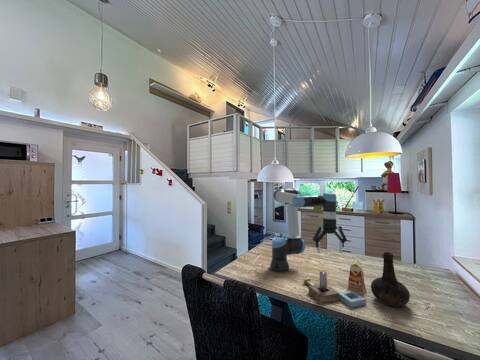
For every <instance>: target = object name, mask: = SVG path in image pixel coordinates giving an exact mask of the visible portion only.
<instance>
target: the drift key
mask: <svg viewBox="0 0 480 360" xmlns="http://www.w3.org/2000/svg"><path fill="white" fill-rule="evenodd" d="M303 284H304V285H307V286H308V287H309V286H312V285H316V284H315V283H314V282H312V278H310V277H305V278H303Z"/></svg>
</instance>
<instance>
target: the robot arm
mask: <svg viewBox="0 0 480 360" xmlns="http://www.w3.org/2000/svg"><path fill="white" fill-rule="evenodd" d="M272 196H273V199H274V200H275V201H276V202H278V203H284V205H285V207H286V214H287V217H286V218H287V231H288V232H287V233H288V235H287V236H286V238H285V237H278V238H277V237H276V238H274V239H273V240H272V242H271V255H272V256H271V261H270V265H269V269H270V270H271V271H273V272H276V273H287V272H289V270H290V266H289V265H290V264H289V262H288V256H291V255H301V254H303V253H304V251H305V250H306V243H305V240H304V239H303V238H302V236H301V235H300V227H299V226H300V225H299V214H298V212H299V211H298V208H299V209H300V208H317V207H318V208H322V217H323V219H322V223H323V225H318V226H317V229H316V231H315V234H314V235H313V238H312V241H313V242H315V247H316V251H317V253H318V254H321V242H320V241H321V240H322V239H323V238H324V237H325V235H327V234H328V235H330V234H332V235H333V234H334V235H335V236H336V238H337V239H338V253H340V254H343V248H344V247H345V246H344V245H345V243H346V242H348V239H347V236H345V233H344V231H343V227H342V226H340V225H338V226H337V194H336V193H333V192H323V194H322V195H320V194H313V195H302V193H301V190H299V189H298V188H295V187H285V188H284V187H281V188H278V189H275V191H274V192H273V195H272ZM337 230H338V232H339V233H338V232H337Z"/></svg>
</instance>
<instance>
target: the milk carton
mask: <svg viewBox="0 0 480 360" xmlns="http://www.w3.org/2000/svg"><path fill="white" fill-rule="evenodd" d="M347 283H348V284H347V291H350V290H352V291H353V292H355V293H357V294H358V295H365V293H366V290H367V288H366V284H365V275H364V270H363V266H362V262H361V261H359V259H358V257H356V259H353V260H351V263H350V268H349V274H348V281H347Z"/></svg>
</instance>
